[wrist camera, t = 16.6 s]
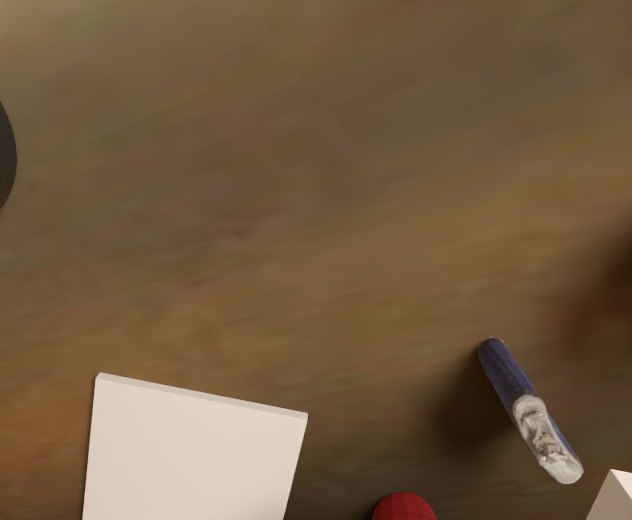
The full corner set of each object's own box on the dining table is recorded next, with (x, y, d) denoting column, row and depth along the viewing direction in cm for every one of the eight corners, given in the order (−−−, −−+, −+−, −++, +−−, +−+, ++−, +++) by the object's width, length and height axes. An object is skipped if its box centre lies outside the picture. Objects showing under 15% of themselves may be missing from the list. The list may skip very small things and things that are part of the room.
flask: (546, 408, 50) (601, 495, 40) (517, 423, 50) (563, 512, 40) (498, 330, 47) (543, 401, 37) (467, 346, 48) (504, 421, 38)
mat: (84, 534, 56) (80, 542, 55) (100, 372, 50) (95, 378, 49) (269, 568, 57) (268, 576, 56) (307, 413, 50) (307, 419, 50)
